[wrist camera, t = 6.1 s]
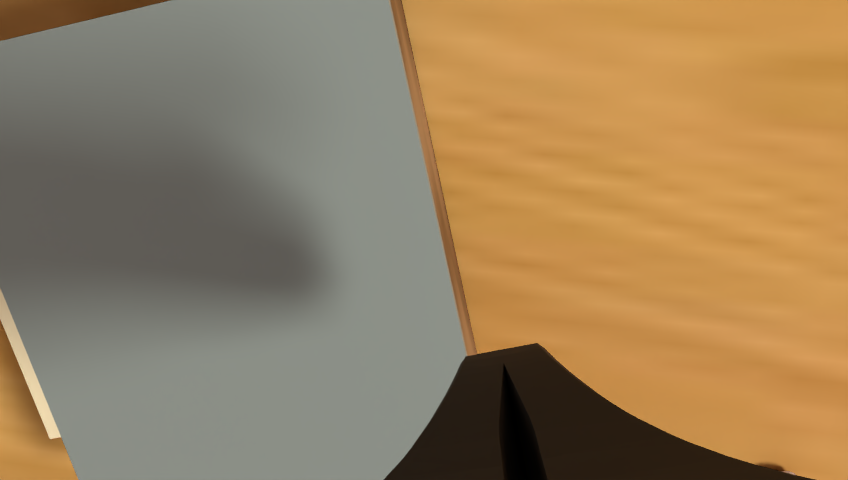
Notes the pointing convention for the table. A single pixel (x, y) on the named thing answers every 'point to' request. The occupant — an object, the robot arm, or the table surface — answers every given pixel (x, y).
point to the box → (433, 173)
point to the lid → (223, 242)
